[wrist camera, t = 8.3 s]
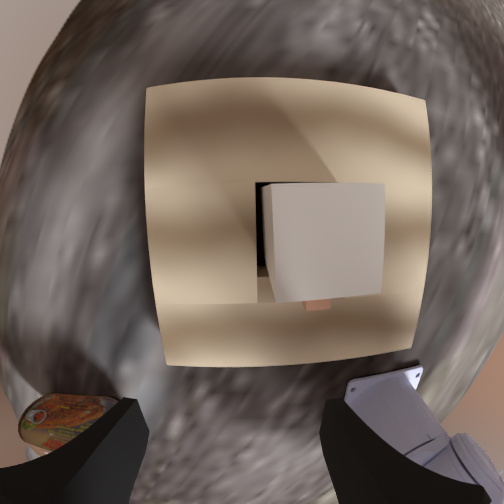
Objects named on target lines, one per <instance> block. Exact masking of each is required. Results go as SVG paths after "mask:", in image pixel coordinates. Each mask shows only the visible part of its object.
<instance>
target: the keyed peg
mask: <svg viewBox="0 0 504 504" xmlns="http://www.w3.org/2000/svg"><path fill="white" fill-rule="evenodd" d="M261 205H262V225H263V246H264V258H265V262H266V266H267V270H268V274H269V278H270V282H271V286H272V290H273V294H274V298H275V302H276V303H284V302H297V301H302V303H303V305H304V308H305V310H306V311H314V310H324V309H331V298H341V297H351V296H360V295H369V294H377V293H381V287H382V275H383V261H384V240H385V184H377V183H283V184H270V185H267V186H264V187H262V188H261Z"/></svg>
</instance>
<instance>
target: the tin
mask: <svg viewBox="0 0 504 504" xmlns="http://www.w3.org/2000/svg"><path fill="white" fill-rule="evenodd" d="M117 402H118V401H117V400H115V399H114V398H111V397H107V396H89V395H72V394H61V393H52V394H48V395H45V396H43V397H40V398H39V399H37V400H36V401H34V402H33V403H32V404H31V405H30V406H29V407H27V409H26V410H25V411H24V413H23V414H22V416H21V418H20V421H19V424H18V432H19V435H20V437H21V439H22V440H23V441H24V442H25V443H27V444H28V445H29V446H30V447H31V448H32V449H33V450H34V451H35V452H36V453H37V454H39V455H40V456H43V455H46V454H48V453H50V452H52V451H54V450H56V449H57V448H59V447H61V446H63V445H64V444H66V443H68V442H69V441H71V440H72V439H73V438H75V437H76V436H78V435H79V434H80V433H82V432H83V431H84V430H86V429H87V428H88V427H90V426H91V425H92V424H93V423H94V422H96V421H97V420H98V419H99V418H100V417H102V416H103V415H104V414H105V413H106V412H107V411H108V410H110V409H111V408H112V407H113V406H114V405H115V404H116V403H117Z"/></svg>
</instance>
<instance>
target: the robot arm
mask: <svg viewBox="0 0 504 504" xmlns="http://www.w3.org/2000/svg"><path fill="white" fill-rule="evenodd" d="M422 371H423V367H422V366H421V365H418V366H414V367H410V368H406V369H402V370H397V371H393V372H388V373H384V374H379V375H374V376H368V377H363V378H357V379H352V380H350V381H349V382H348V385H347V389H346V394H345V398H344V400H343V399H342V398H338V399H331V400H326V403H325V408H324V413H323V418H322V423H321V427H320V432H319V434H320V440H321V445H322V451H323V455H324V458H325V461H326V464H327V468H328V471H329V474H330V477H331V480H332V483H333V486H334V489H335V492H336V495H337V499H338V502H339V504H502V502H503V500H504V482H503V479H502V477H501V476H500V475H499V473H498V471H497V469H496V468H495V466H494V464H493V462H492V461H491V459H490V458H489V457H488V455H487V454H486V453H485V451H484V450H483V449H482V448H481V446H480V445H479V444H478V443H477V442H476V441H475V440H474V439H473V438H472V437H471V436H470V435H469V434H467V433H462V434H460V433H457V434H456V435H455V436H453V437H452V438H451V437H450V436H448V434H447V432H446V431H445V429H444V428H443V427H442V425H441V424H440V422H439V421H438V420H437V418H436V417H435V415H434V414H433V413H432V411H431V410H430V409H429V407H428V406H427V405H426V403H425V402H424V401H423V399H422V398H421V397H420V395H419V394H418V393H417V391H416V388H417V385H418V382H419V380H420V377H421V374H422ZM352 388H353V389H352ZM148 437H149V429H148V427H147V424H146V422H145V419H144V417H143V414H142V411H141V409H140V406H139V403H138V401H137V399H131V398H125V397H123V398H122V399H121V400H120V401H119V402H117V403H116V404H115V405H114V406H113V407H112V408H111V409H110V410H108V411H107V412H106V413H105V414H104V415H103V416H102V417H100V418H99V419H98V420H97V421H96V422H94V423H93V424H92V425H91V426H90V427H88V428H87V429H86V430H84V431H83V432H82V433H80V434H79V435H78V436H76V437H75V438H73V439H72V440H71V441H69V442H68V443H66V444H64V445H63V446H61V447H59V448H57V449H56V450H54V451H52V452H50V453H48V454H46V455H43V456H41V457H39V458H36V459H34V460H31V461H29V462H25V463H23V464H19V465H15V466H10V467H5V468H0V504H129V499H130V495H131V491H132V489H133V486H134V483H135V480H136V477H137V474H138V472H139V469H140V466H141V463H142V460H143V458H144V455H145V452H146V447H147V442H148Z"/></svg>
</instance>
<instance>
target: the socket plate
mask: <svg viewBox="0 0 504 504" xmlns="http://www.w3.org/2000/svg"><path fill="white" fill-rule="evenodd" d="M144 178H145V204H146V221H147V234H148V246H149V256H150V265H151V274H152V282H153V289H154V296H155V303H156V309H157V316H158V322H159V327H160V333H161V338H162V343H163V349H164V353H165V358H166V363H167V365H176V366H199V367H256V366H279V365H294V364H306V363H317V362H327V361H335V360H343V359H351V358H358V357H364V356H370V355H376V354H382V353H388V352H393V351H398V350H403V349H408V348H411V346H412V342H413V338H414V334H415V330H416V326H417V321H418V316H419V312H420V307H421V301H422V296H423V290H424V284H425V277H426V270H427V262H428V253H429V243H430V231H431V212H432V167H431V148H430V136H429V126H428V118H427V110H426V103H425V100H422V99H418V98H415V97H411V96H407V95H403V94H399V93H395V92H390V91H386V90H381V89H376V88H371V87H365V86H359V85H353V84H346V83H339V82H331V81H322V80H311V79H297V78H272V77H248V78H223V79H209V80H198V81H189V82H181V83H173V84H166V85H160V86H154V87H149V88H147V90H146V106H145V131H144ZM255 183H377V184H385V240H384V261H383V275H382V287H381V293H377V294H369V295H360V296H351V297H341V298H331V309H324V310H314V311H306V310H305V308H304V305H303V303H302V301H297V302H284V303H276V302H275V298H274V294H273V290H272V286H271V282H270V278H269V274H268V270H267V266H257V251H256V204H255Z"/></svg>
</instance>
